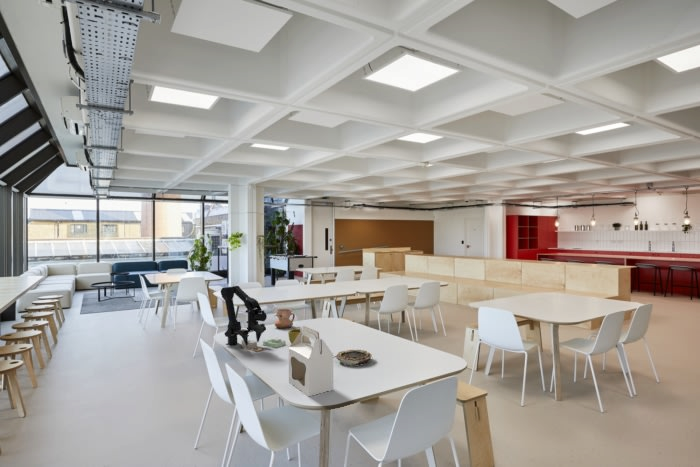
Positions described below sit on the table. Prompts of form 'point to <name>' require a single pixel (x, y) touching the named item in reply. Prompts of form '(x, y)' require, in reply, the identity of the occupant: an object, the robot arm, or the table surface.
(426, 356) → the table surface
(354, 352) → the pie
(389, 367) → the table surface
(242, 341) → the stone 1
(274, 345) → the green bin
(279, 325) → the ceramic jug
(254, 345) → the white small cube
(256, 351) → the walnut tray
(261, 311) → the robot arm
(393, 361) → the table surface
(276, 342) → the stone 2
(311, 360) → the gable box
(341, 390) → the table surface
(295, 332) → the flower pot
